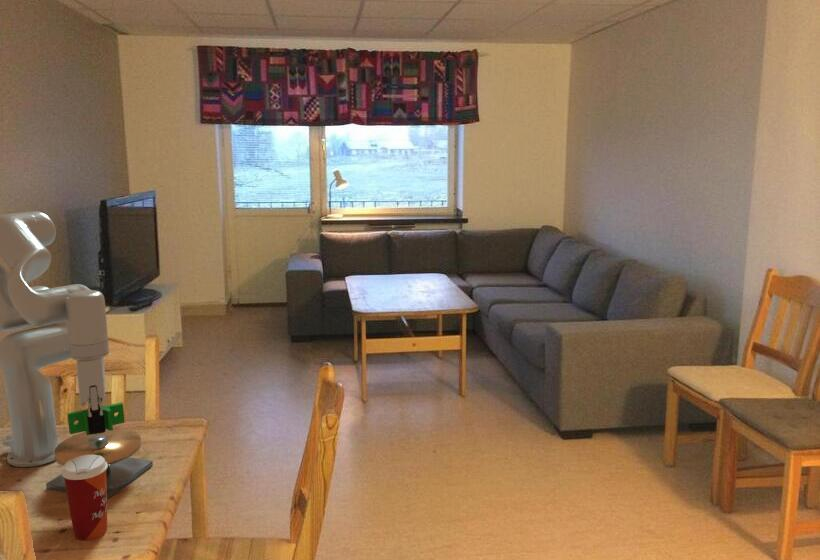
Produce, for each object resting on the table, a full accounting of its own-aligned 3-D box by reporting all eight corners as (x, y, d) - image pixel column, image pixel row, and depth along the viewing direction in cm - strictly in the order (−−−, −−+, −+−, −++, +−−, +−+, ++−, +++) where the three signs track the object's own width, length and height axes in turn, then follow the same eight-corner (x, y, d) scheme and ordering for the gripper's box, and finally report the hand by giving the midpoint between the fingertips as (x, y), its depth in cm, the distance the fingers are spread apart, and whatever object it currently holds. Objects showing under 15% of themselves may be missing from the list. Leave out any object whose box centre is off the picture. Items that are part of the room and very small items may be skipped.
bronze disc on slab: (39, 490, 155) (34, 450, 153) (94, 454, 172) (91, 418, 170) (108, 502, 150) (105, 461, 148) (158, 464, 167) (156, 427, 165)
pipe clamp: (72, 439, 148) (69, 419, 147) (69, 433, 151) (66, 413, 150) (127, 426, 154) (125, 407, 153) (123, 420, 157) (121, 401, 156)
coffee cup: (112, 539, 137) (105, 469, 134) (65, 547, 134) (58, 475, 131) (114, 517, 145) (108, 450, 141) (70, 524, 142) (63, 456, 139)
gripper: (70, 339, 155) (78, 417, 159) (69, 362, 140) (78, 447, 144) (107, 336, 158) (114, 411, 162) (110, 357, 143) (117, 440, 147)
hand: (97, 427), depth 153 cm, fingers closed on pipe clamp, 4 cm apart
